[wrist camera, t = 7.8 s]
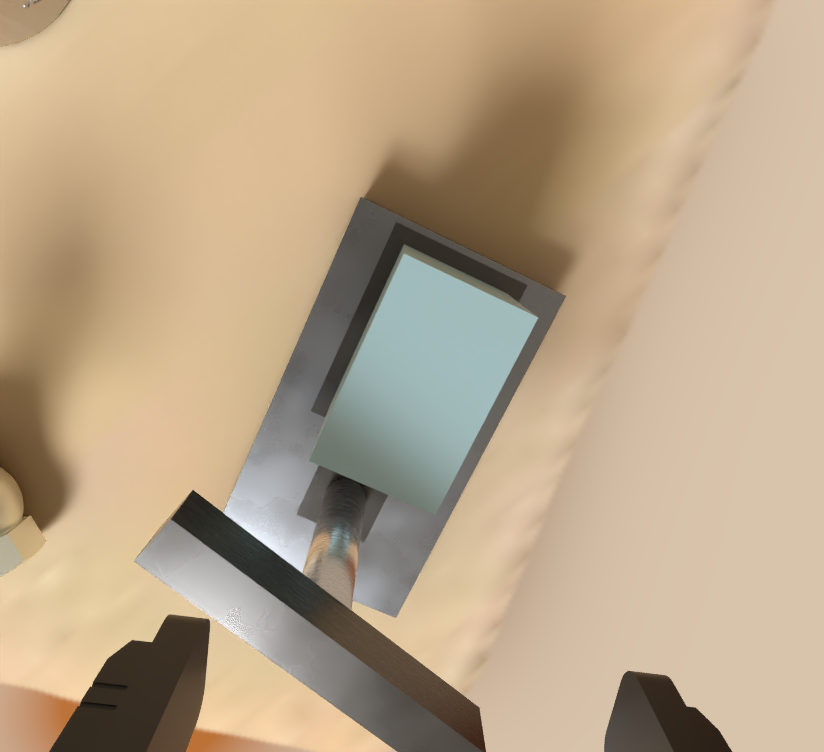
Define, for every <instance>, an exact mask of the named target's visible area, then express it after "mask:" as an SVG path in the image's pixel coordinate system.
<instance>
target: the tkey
mask: <svg viewBox="0 0 824 752" xmlns="http://www.w3.org/2000/svg"><path fill="white" fill-rule="evenodd" d="M365 503H366V495H365V492H364V490H363V488H362V487H361V486H360V485H359V484H358V483H356V482H355V481H352V480H348V479H341V480H337V481H335V482H333V483H332V484H330V485H329V486H328V488H327V489H326V491H325V494H324V498H323V501H322V505H321V508H320V512H319V515H318V519H317V522H316V526H315V529H314V533H313V536H312V540H311V543H310V547H309V550H308V554H307V557H306V561H305V564H304V568H303V571H302V573H301V572H300V571H299V570H298V569H296V568H295V567H294V566H292V565H291V564H290V563H288V562H287V561H286V560H284V559H283V558H282V557H280V556H279V555H278V554H276V553H275V552H274V551H273V550H271V549H270V548H269V547H267V546H266V545H265V544H263V543H262V542H261V541H259V540H258V539H257V538H255V537H254V536H253V535H251V534H250V533H249V532H248V531H246V530H245V529H244V528H242V527H241V526H240V525H238V524H237V523H236V522H234V521H233V520H232V519H230V518H229V517H228V516H226V515H225V514H224V513H223V512H221V511H220V510H219V509H217V508H216V507H215V506H213V505H212V504H211V503H209V502H208V501H207V500H205V499H204V498H203V497H201V496H200V495H199V494H198V493H196V492H195V491H194V490H192V492H191V493H190V494H189V495H188V496H187V497H186V498H185V500H184V501H183V502H182V503H181V504H180V505H179V507H178V508H177V509H176V510H175V511H174V512H173V513H172V515H171V516H170V517H169V518H168V519H167V520H166V521H165V523H164V524H163V525H162V526H161V527H160V528H159V530H158V531H157V532H156V533H155V535H154V536H153V537H152V539H151V540H150V541H149V542H148V544H147V545H146V546H145V548H144V549H143V550H142V551H141V553H140V554H139V555H138V556H137V558H136V559H135V560H134V562H135V563H137V564H138V565H140V566H141V567H142V568H144V569H145V570H147V571H148V572H149V573H151V574H152V575H153V576H155V577H156V578H158V579H159V580H160V581H162V582H163V583H165V584H166V585H167V586H169V587H170V588H171V589H173V590H174V591H176V592H177V593H178V594H180V595H181V596H183V597H184V598H185V599H187V600H188V601H189V602H191V603H192V604H194V605H195V606H196V607H198V608H199V609H201V610H202V611H203V612H205V613H206V614H207V615H209V616H210V617H212V618H213V619H214V620H216V621H217V622H219V623H220V624H221V625H223V626H224V627H225V628H227V629H228V630H230V631H231V632H232V633H234V634H235V635H237V636H238V637H239V638H241V639H242V640H243V641H245V642H246V643H248V644H249V645H250V646H252V647H253V648H255V649H256V650H257V651H259V652H260V653H262V654H263V655H264V656H266V657H267V658H268V659H270V660H271V661H273V662H274V663H275V664H277V665H278V666H280V667H281V668H282V669H284V670H285V671H286V672H288V673H289V674H291V675H292V676H293V677H295V678H296V679H298V680H299V681H300V682H302V683H303V684H304V685H306V686H307V687H309V688H310V689H311V690H313V691H314V692H316V693H317V694H318V695H320V696H321V697H322V698H324V699H325V700H327V701H328V702H329V703H331V704H332V705H334V706H335V707H336V708H338V709H339V710H340V711H342V712H343V713H345V714H346V715H347V716H349V717H350V718H352V719H353V720H354V721H356V722H357V723H358V724H360V725H361V726H363V727H364V728H365V729H367V730H368V731H370V732H371V733H372V734H374V735H375V736H376V737H378V738H379V739H381V740H382V741H383V742H385V743H386V744H388V745H389V746H390V747H392V748H393V749H394V750H396V751H397V752H486V749H485V742H484V735H483V729H482V722H481V716H480V709H479V707H478V706H476V705H475V704H474V703H472V702H471V701H470V700H469V699H467V698H466V697H465V696H463V695H462V694H461V693H459V692H458V691H457V690H455V689H454V688H453V687H451V686H450V685H449V684H447V683H446V682H445V681H444V680H442V679H441V678H440V677H438V676H437V675H436V674H434V673H433V672H432V671H430V670H429V669H428V668H426V667H425V666H424V665H423V664H421V663H420V662H419V661H417V660H416V659H415V658H413V657H412V656H411V655H409V654H408V653H407V652H405V651H404V650H403V649H401V648H400V647H399V646H398V645H396V644H395V643H394V642H392V641H391V640H390V639H388V638H387V637H386V636H384V635H383V634H382V633H380V632H379V631H378V630H376V629H375V628H374V627H373V626H371V625H370V624H369V623H367V622H366V621H365V620H363V619H362V618H361V617H359V616H358V615H357V614H355V613H354V612H353V611H351V608H352V601H353V593H354V586H355V578H356V571H357V563H358V556H359V548H360V541H361V533H362V526H363V518H364V511H365Z"/></svg>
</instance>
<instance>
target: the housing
mask: <svg viewBox="0 0 824 752" xmlns="http://www.w3.org/2000/svg"><path fill="white" fill-rule="evenodd" d="M404 244H405V245H407V246H409V247H411V248H413V249H416V250H418V251H420V252H422V253H424V254H426V255H428V256H430V257H432V258H434V259H436V260H438V261H441V262H443V263H445V264H447V265H449V266H451V267H453V268H455V269H457V270H459V271H461V272H464V273H466V274H468V275H470V276H472V277H474V278H476V279H478V280H480V281H482V282H484V283H486V284H489V285H491V286H493V287H495V288H497V289H499V290H501V291H503V292H505V293H507V294H508V295H510V296H511V297H512V298H513V299H515V300H516V301H517V302H519V303H520V304H521V305H523V306H524V307H525V308H527V309H528V310H529V311H530V312H532V313H533V314H534V315H536V316H537V317H538V319H537V321H536V323H535V325H534V327H533V329H532V331H531V333H530V335H529V337H528V339H527V340H526V342H525V344H524V346H523V348H522V350H521V352H520V354H519V356H518V358H517V360H516V362H515V363H514V365H513V367H512V369H511V371H510V373H509V375H508V377H507V379H506V381H505V383H504V385H503V386H502V388H501V390H500V392H499V394H498V396H497V398H496V400H495V402H494V404H493V406H492V408H491V409H490V411H489V413H488V415H487V417H486V419H485V421H484V423H483V425H482V427H481V429H480V431H479V432H478V434H477V436H476V438H475V440H474V442H473V444H472V446H471V448H470V450H469V452H468V453H467V455H466V457H465V459H464V461H463V463H462V465H461V467H460V469H459V471H458V473H457V475H456V476H455V478H454V480H453V482H452V484H451V486H450V488H449V490H448V492H447V494H446V496H445V498H444V499H443V501H442V503H441V505H440V507H439V509H438V511H437V513H436V515H434V514H432V513H429V512H427V511H425V510H422V509H420V508H418V507H415V506H413V505H411V504H408V503H406V502H404V501H401V500H399V499H397V498H394V497H392V496H390V495H387V494H385V493H383V492H380V491H378V490H376V489H373V488H371V487H369V486H366V485H364V484H362V483H359V482H357V481H355V480H352V479H350V478H348V477H345V476H343V475H341V474H338V473H336V472H334V471H331V470H329V469H327V468H324V467H322V466H320V465H317V464H315V463H313V462H310V461H309V458H310V456H311V453H312V451H313V448H314V445H315V443H316V440H317V438H318V435H319V433H320V430H321V427H322V425H323V422H324V420H325V417H326V414H327V412H328V409H329V407H330V404H331V402H332V400H333V398H334V395H335V393H336V391H337V389H338V387H339V385H340V382H341V380H342V378H343V376H344V374H345V371H346V369H347V367H348V365H349V363H350V361H351V358H352V356H353V354H354V352H355V350H356V347H357V345H358V343H359V341H360V339H361V337H362V334H363V332H364V330H365V328H366V326H367V324H368V321H369V319H370V317H371V315H372V313H373V310H374V308H375V306H376V304H377V302H378V300H379V297H380V295H381V293H382V291H383V289H384V286H385V284H386V282H387V280H388V278H389V276H390V273H391V271H392V269H393V267H394V265H395V262H396V260H397V258H398V256H399V254H400V252H401V249H402V247H403V245H404ZM565 297H566V296H564V295H562V294H561V293H559V292H557V291H555V290H552V289H550V288H548V287H546V286H544V285H542V284H540V283H538V282H536V281H534V280H532V279H530V278H528V277H526V276H524V275H521V274H519V273H517V272H515V271H513V270H511V269H509V268H507V267H505V266H503V265H501V264H499V263H497V262H495V261H493V260H491V259H488V258H486V257H484V256H482V255H480V254H478V253H476V252H474V251H472V250H470V249H468V248H466V247H464V246H462V245H460V244H458V243H455V242H453V241H451V240H449V239H447V238H445V237H443V236H441V235H439V234H437V233H435V232H433V231H431V230H429V229H427V228H424V227H422V226H420V225H418V224H416V223H414V222H412V221H410V220H408V219H406V218H404V217H402V216H400V215H398V214H396V213H394V212H391V211H389V210H387V209H385V208H383V207H381V206H379V205H377V204H375V203H373V202H371V201H369V200H367V199H365V198H362V197H361V198H360V200H359V202H358V205H357V207H356V209H355V212H354V214H353V216H352V219H351V221H350V223H349V225H348V228H347V230H346V232H345V235H344V237H343V239H342V242H341V244H340V246H339V248H338V251H337V253H336V255H335V258H334V260H333V262H332V265H331V267H330V269H329V271H328V274H327V276H326V278H325V281H324V283H323V285H322V287H321V290H320V292H319V294H318V297H317V299H316V301H315V304H314V306H313V308H312V310H311V313H310V315H309V317H308V320H307V322H306V324H305V327H304V329H303V331H302V333H301V336H300V338H299V340H298V343H297V345H296V347H295V349H294V352H293V354H292V356H291V359H290V361H289V363H288V366H287V368H286V370H285V372H284V375H283V377H282V379H281V382H280V384H279V386H278V389H277V391H276V393H275V395H274V398H273V400H272V402H271V405H270V407H269V409H268V412H267V414H266V416H265V418H264V421H263V423H262V425H261V428H260V430H259V432H258V434H257V437H256V439H255V441H254V444H253V446H252V448H251V451H250V453H249V455H248V457H247V460H246V462H245V464H244V467H243V469H242V471H241V474H240V476H239V478H238V480H237V483H236V485H235V487H234V490H233V492H232V494H231V496H230V499H229V501H228V503H227V506H226V508H225V510H224V514H225V515H226V516H228V517H229V518H230V519H232V520H233V521H234V522H236V523H237V524H238V525H240V526H241V527H242V528H244V529H245V530H246V531H248V532H249V533H250V534H251V535H253V536H254V537H255V538H257V539H258V540H259V541H261V542H262V543H263V544H265V545H266V546H267V547H269V548H270V549H271V550H273V551H274V552H275V553H276V554H278V555H279V556H280V557H282V558H283V559H284V560H286V561H287V562H288V563H290V564H291V565H292V566H294V567H295V568H296V569H298V570H299V571H300V572H301V573H302V571H303V568H304V564H305V561H306V557H307V554H308V550H309V547H310V543H311V540H312V536H313V533H314V529H315V526H316V522H317V519H318V515H319V512H320V508H321V505H322V501H323V498H324V494H325V491H326V489H327V488H328V486H329V485H330V484H332V483H333V482H335V481H337V480H341V479H348V480H352V481H355V482H356V483H358V484H359V485H360V486H361V487H362V488H363V490H364V492H365V495H366V503H365V511H364V518H363V526H362V533H361V541H360V548H359V556H358V563H357V571H356V578H355V586H354V593H353V601H356V602H358V603H360V604H363V605H365V606H368V607H370V608H373V609H375V610H378V611H380V612H383V613H385V614H388V615H390V616H393V617H395V618H396V617H397V615H398V613H399V611H400V609H401V608H402V606H403V604H404V602H405V600H406V598H407V596H408V594H409V592H410V590H411V589H412V587H413V585H414V583H415V581H416V579H417V577H418V575H419V573H420V572H421V570H422V568H423V566H424V564H425V562H426V560H427V558H428V556H429V555H430V553H431V551H432V549H433V547H434V545H435V543H436V541H437V539H438V537H439V536H440V534H441V532H442V530H443V528H444V526H445V524H446V522H447V520H448V519H449V517H450V515H451V513H452V511H453V509H454V507H455V505H456V503H457V502H458V500H459V498H460V496H461V494H462V492H463V490H464V488H465V486H466V484H467V483H468V481H469V479H470V477H471V475H472V473H473V471H474V469H475V467H476V466H477V464H478V462H479V460H480V458H481V456H482V454H483V452H484V450H485V449H486V447H487V445H488V443H489V441H490V439H491V437H492V435H493V433H494V431H495V430H496V428H497V426H498V424H499V422H500V420H501V418H502V416H503V414H504V413H505V411H506V409H507V407H508V405H509V403H510V401H511V399H512V397H513V396H514V394H515V392H516V390H517V388H518V386H519V384H520V382H521V380H522V378H523V377H524V375H525V373H526V371H527V369H528V367H529V365H530V363H531V361H532V360H533V358H534V356H535V354H536V352H537V350H538V348H539V346H540V344H541V342H542V341H543V339H544V337H545V335H546V333H547V331H548V329H549V327H550V325H551V324H552V322H553V320H554V318H555V316H556V314H557V312H558V310H559V308H560V307H561V305H562V303H563V301H564V299H565Z"/></svg>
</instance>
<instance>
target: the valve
mask: <svg viewBox="0 0 824 752" xmlns="http://www.w3.org/2000/svg"><path fill="white" fill-rule="evenodd" d="M23 509H24V505H23V497H22V493H21V490H20V488H19V486H18V484H17V483H16V481H15V480H14V479H13V477H12V476H11V475H10V474H9V473H7V472H6V471H5V470H3V469H2V468H0V577H1V576H3V575H5V574H6V573H8V572H10V571H12V570H13V569H15V568H17V567H18V566H20V565H21V564H23V563H24V562H26V561H27V560H29V559H30V558H31V557H33V556H34V555H35V554H36V553H37V552H38V551H39V550H40V549H41V548H42V546H43V545H44V543H45V542H46V540H45V538H44V536H43V535H42V533H41V531H40V530H39V528H38V526H37V525H36V523H35V522H34V520H33V518H32V517H31V515H29V516H23Z"/></svg>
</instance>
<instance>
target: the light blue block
mask: <svg viewBox="0 0 824 752" xmlns="http://www.w3.org/2000/svg"><path fill="white" fill-rule="evenodd" d="M537 319H538V317H537V316H536V315H534V314H533V313H532V312H530V311H529V310H528V309H527V308H525V307H524V306H523V305H521V304H520V303H519V302H517V301H516V300H515V299H513V298H512V297H511V296H510V295H508V294H507V293H505V292H503V291H501V290H499V289H497V288H495V287H493V286H491V285H489V284H486V283H484V282H482V281H480V280H478V279H476V278H474V277H472V276H470V275H468V274H466V273H464V272H461V271H459V270H457V269H455V268H453V267H451V266H449V265H447V264H445V263H443V262H441V261H438V260H436V259H434V258H432V257H430V256H428V255H426V254H424V253H422V252H420V251H418V250H416V249H413V248H411V247H409V246H407V245H405V244H404V245H403V247H402V249H401V252H400V254H399V256H398V258H397V260H396V262H395V265H394V267H393V269H392V271H391V273H390V276H389V278H388V280H387V282H386V284H385V286H384V289H383V291H382V293H381V295H380V297H379V300H378V302H377V304H376V306H375V308H374V310H373V313H372V315H371V317H370V319H369V321H368V324H367V326H366V328H365V330H364V332H363V334H362V337H361V339H360V341H359V343H358V345H357V347H356V350H355V352H354V354H353V356H352V358H351V361H350V363H349V365H348V367H347V369H346V371H345V374H344V376H343V378H342V380H341V382H340V385H339V387H338V389H337V391H336V393H335V395H334V398H333V400H332V402H331V404H330V407H329V409H328V412H327V414H326V417H325V420H324V422H323V425H322V427H321V430H320V433H319V435H318V438H317V440H316V443H315V445H314V448H313V451H312V453H311V456H310V458H309V461H310V462H313V463H315V464H317V465H320V466H322V467H324V468H327V469H329V470H331V471H334V472H336V473H338V474H341V475H343V476H345V477H348V478H350V479H352V480H355V481H357V482H359V483H362V484H364V485H366V486H369V487H371V488H373V489H376V490H378V491H380V492H383V493H385V494H387V495H390V496H392V497H394V498H397V499H399V500H401V501H404V502H406V503H408V504H411V505H413V506H415V507H418V508H420V509H422V510H425V511H427V512H429V513H432V514H434V515H436V513H437V511H438V509H439V507H440V505H441V503H442V501H443V499H444V498H445V496H446V494H447V492H448V490H449V488H450V486H451V484H452V482H453V480H454V478H455V476H456V475H457V473H458V471H459V469H460V467H461V465H462V463H463V461H464V459H465V457H466V455H467V453H468V452H469V450H470V448H471V446H472V444H473V442H474V440H475V438H476V436H477V434H478V432H479V431H480V429H481V427H482V425H483V423H484V421H485V419H486V417H487V415H488V413H489V411H490V409H491V408H492V406H493V404H494V402H495V400H496V398H497V396H498V394H499V392H500V390H501V388H502V386H503V385H504V383H505V381H506V379H507V377H508V375H509V373H510V371H511V369H512V367H513V365H514V363H515V362H516V360H517V358H518V356H519V354H520V352H521V350H522V348H523V346H524V344H525V342H526V340H527V339H528V337H529V335H530V333H531V331H532V329H533V327H534V325H535V323H536V321H537Z"/></svg>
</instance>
